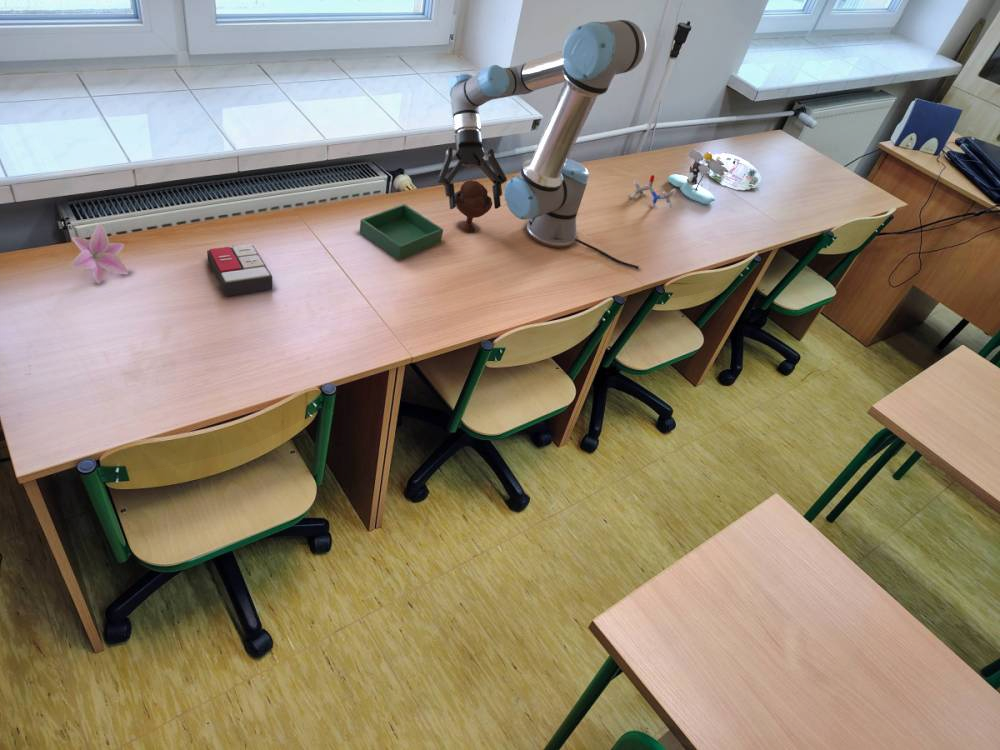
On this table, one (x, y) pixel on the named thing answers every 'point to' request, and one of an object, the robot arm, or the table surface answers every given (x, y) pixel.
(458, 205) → the ice cream bowl
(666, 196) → the molecular model
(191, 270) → the table surface
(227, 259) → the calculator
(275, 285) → the table surface
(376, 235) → the bin
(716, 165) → the figurine on stand
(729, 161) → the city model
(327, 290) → the table surface
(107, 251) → the lily
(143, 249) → the table surface
